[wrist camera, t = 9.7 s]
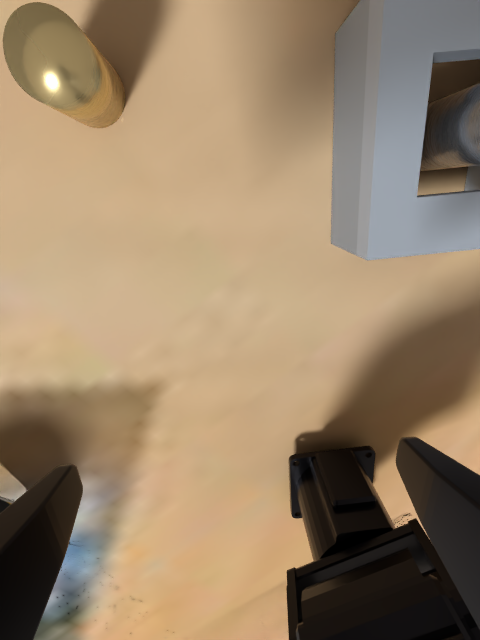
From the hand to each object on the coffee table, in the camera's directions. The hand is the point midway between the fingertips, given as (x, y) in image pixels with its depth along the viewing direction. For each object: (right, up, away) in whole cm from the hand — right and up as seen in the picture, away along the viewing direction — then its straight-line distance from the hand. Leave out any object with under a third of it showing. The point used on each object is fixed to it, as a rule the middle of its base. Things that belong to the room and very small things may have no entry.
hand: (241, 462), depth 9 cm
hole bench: (+9, +14, +8) cm, 19 cm away
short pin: (-7, +15, +7) cm, 18 cm away
